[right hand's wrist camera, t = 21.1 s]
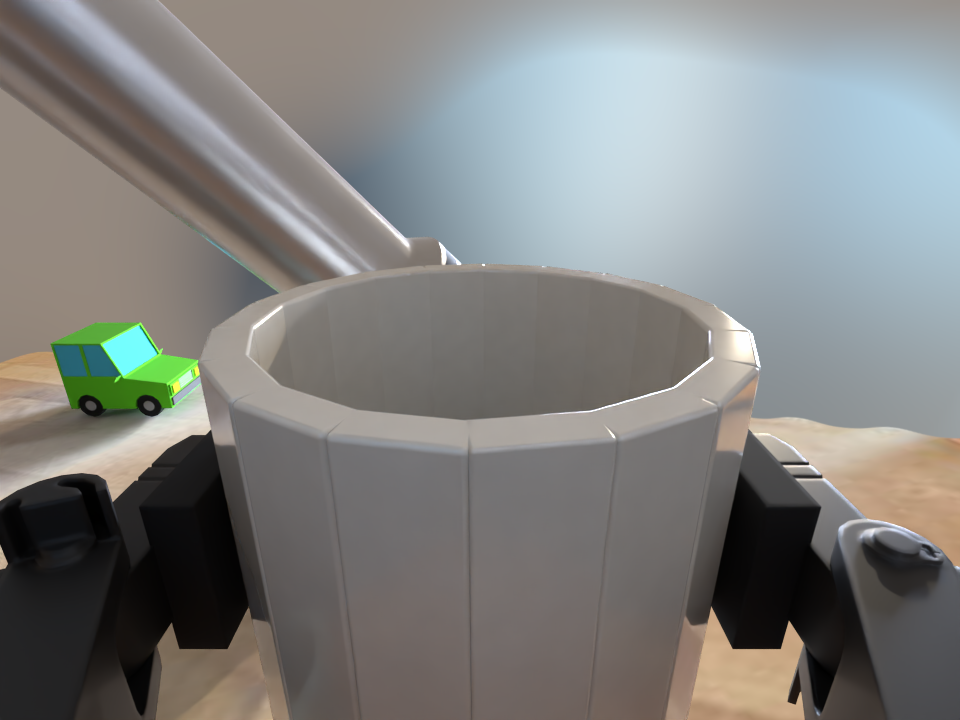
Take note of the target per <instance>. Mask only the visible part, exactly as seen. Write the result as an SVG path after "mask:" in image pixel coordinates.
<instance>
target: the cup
mask: <svg viewBox="0 0 960 720" xmlns="http://www.w3.org/2000/svg"><path fill="white" fill-rule="evenodd" d="M197 365H198V370H199V375H200V379H201V384H202V389H203V393H204V398H205V403H206V407H207V412H208V417H209V421H210V426H211V431H212V435H213V440H214V445H215V449H216V454H217V459H218V463H219V468H220V473H221V478H222V482H223V487H224V492H225V496H226V501H227V506H228V510H229V515H230V520H231V524H232V529H233V534H234V538H235V543H236V548H237V552H238V557H239V562H240V566H241V571H242V576H243V580H244V585H245V590H246V594H247V599H248V604H249V608H250V613H251V618H252V622H253V627H254V632H255V636H256V641H257V646H258V651H259V655H260V660H261V665H262V669H263V674H264V679H265V683H266V688H267V693H268V697H269V702H270V707H271V711H272V716H273V720H687V719H688V714H689V709H690V704H691V700H692V695H693V690H694V685H695V681H696V676H697V671H698V666H699V662H700V657H701V652H702V647H703V643H704V638H705V633H706V628H707V624H708V619H709V614H710V609H711V604H712V600H713V595H714V590H715V585H716V581H717V576H718V571H719V566H720V562H721V557H722V552H723V547H724V543H725V538H726V533H727V528H728V523H729V519H730V514H731V509H732V504H733V500H734V495H735V490H736V485H737V481H738V476H739V471H740V466H741V462H742V457H743V452H744V447H745V442H746V438H747V433H748V428H749V423H750V419H751V414H752V409H753V404H754V400H755V395H756V390H757V385H758V381H759V376H760V371H761V369H760V364H759V360H758V356H757V352H756V348H755V344H754V339H753V335H752V334H750V331H749V330H747V329H746V328H745V327H743V326H742V325H740V324H739V323H738V322H736V321H735V320H734V319H732V318H731V317H730V316H728V315H727V314H725V313H724V312H723V311H721V310H720V309H719V308H717V307H715V306H714V305H713V304H711V303H708V302H705V301H703V300H700V299H697V298H694V297H692V296H689V295H686V294H684V293H681V292H678V291H676V290H673V289H670V288H668V287H665V286H661V285H657V284H653V283H648V282H644V281H639V280H634V279H630V278H625V277H621V276H616V275H612V274H603V273H598V272H590V271H581V270H573V269H564V268H556V267H543V266H528V265H503V264H485V265H484V264H459V265H428V266H424V267H423V266H415V267H406V268H396V269H387V270H378V271H369V272H364V273H358V274H353V275H348V276H343V277H338V278H333V279H329V280H324V281H319V282H314V283H309V284H307V285H302V286H299V287H296V288H293V289H290V290H288V291H285V292H282V293H279V294H276V295H273V296H271V297H268V298H265V299H262V300H259V301H256V302H254V303H252V304H250V305H248V306H247V307H245V308H243V309H242V310H240V311H239V312H237V313H236V314H234V315H233V316H231V317H230V318H228V319H227V320H225V321H224V322H222V323H221V324H219V325H218V326H216V327H215V328H214V329H212V330H210V333H209V335H208V338H207V340H206V343H205V345H204V348H203V350H202V353H201V355H200V358H199V360H198V363H197Z"/></svg>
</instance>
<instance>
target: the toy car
mask: <svg viewBox="0 0 960 720" xmlns="http://www.w3.org/2000/svg"><path fill="white" fill-rule="evenodd" d="M51 347H52V350H53V353H54V356H55V359H56V362H57V365H58V368H59V371H60V374H61V377H62V380H63V384H64V387H65V390H66V393H67V396H68V399H69V402H70V405H71V408H72V409H79V408H81V409H82V411H83V412H85V413H86V414H87V415H91V416H97V415H100V414H102V413H103V412H105V411H106V409H137V408H139V410H140V411H141V412H142V413H144V414H145V415H148V416H156V415H158V414H159V413H160V412H162V411H163V409H164V408H173V407H174V406H175V405H176V404H178V403H179V402H180V401H181V400H182V399H184V398H185V397H186V396H187V395H188V394H189V393H191V392H192V391H193V390H194V389H195V388H197V387H198V386H199V385H200V384H201V379H200V375H199V370H198V365H197V363H198V360H193V359H187V358H181V357H174V356H168V355H161V352H162V349H161V350H158V349H157V347H156V346H155V344H154V343H153V341H152V340H151V338H150V336H149V335H148V333H147V332H146V330H145V329H144V327H143V326H142V324H141V323H94V324H92V325H90V326H88V327H86V328H84V329H81V330H79V331H77V332H75V333H73V334H70V335H68V336H66V337H64V338H62V339H60V340H57V341H55V342H53V343H51Z"/></svg>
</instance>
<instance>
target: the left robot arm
mask: <svg viewBox="0 0 960 720" xmlns="http://www.w3.org/2000/svg"><path fill="white" fill-rule="evenodd" d="M0 88H1V89H3V90H4V91H5V92H7V93H8V94H9V95H11V96H12V97H13V98H15V99H16V100H17V101H19V102H20V103H22V104H23V105H24V106H26V107H27V108H28V109H30V110H31V111H32V112H34V113H35V114H37V115H38V116H39V117H41V118H42V119H43V120H45V121H46V122H47V123H49V124H50V125H52V126H53V127H54V128H56V129H57V130H58V131H60V132H61V133H62V134H64V135H65V136H66V137H68V138H69V139H71V140H72V141H73V142H75V143H76V144H77V145H79V146H80V147H82V148H83V149H84V150H86V151H87V152H88V153H90V154H91V155H92V156H94V157H95V158H96V159H98V160H99V161H101V162H102V163H103V164H105V165H106V166H107V167H109V168H110V169H111V170H113V171H114V172H116V173H117V174H118V175H120V176H121V177H122V178H124V179H125V180H126V181H128V182H129V183H130V184H132V185H133V186H135V187H136V188H137V189H139V190H140V191H141V192H143V193H144V194H145V195H147V196H148V197H149V198H151V199H152V200H154V201H155V202H156V203H158V204H159V205H160V206H162V207H163V208H164V209H166V210H167V211H169V212H170V213H171V214H173V215H174V216H175V217H177V218H178V219H179V220H181V221H182V222H184V223H185V224H186V225H188V226H189V227H190V228H192V229H193V230H194V231H196V232H197V233H199V234H200V235H201V236H203V237H204V238H205V239H207V240H208V241H209V242H211V243H212V244H213V245H215V246H216V247H218V248H219V249H220V250H222V251H223V252H224V253H226V254H227V255H228V256H230V257H231V258H233V259H234V260H235V261H237V262H238V263H239V264H241V265H242V266H244V267H245V268H246V269H247V270H249V271H250V272H252V273H253V274H254V275H256V276H257V277H258V278H260V279H261V280H262V281H264V282H265V283H267V284H268V285H269V286H271V287H272V288H273V289H275V290H276V291H278V292H279V293H282V292H285V291H288V290H290V289H293V288H296V287H299V286H302V285H307V284H309V283H314V282H319V281H324V280H329V279H333V278H338V277H343V276H348V275H353V274H358V273H364V272H369V271H378V270H387V269H396V268H406V267H415V266H423V267H424V266H428V265H459V264H461V263H460V262H459V261H458V260H457V259H456V258H455V257H454V256H453V255H452V254H451V253H450V252H449V251H448V250H446V248H444V246H443V245H442V244H441V243H439V242H438V241H437V240H436V239H434V238H431V237H418V238H405V237H404V236H403V235H402V234H401V233H400V232H398V231H397V230H396V229H395V228H394V227H393V226H392V225H391V224H390V223H389V222H388V221H387V220H386V219H385V218H384V217H383V216H382V215H381V214H380V213H379V212H378V211H377V210H376V209H375V208H374V207H373V206H371V205H370V204H369V203H368V202H367V201H366V200H365V199H364V198H363V197H362V196H361V195H360V194H359V193H358V192H357V191H356V190H355V189H354V188H353V187H352V186H351V185H350V184H349V183H348V182H347V181H345V180H344V179H343V178H342V177H341V176H340V175H339V174H338V173H337V172H336V171H335V170H334V169H333V168H332V167H331V166H330V165H329V164H328V163H327V162H326V161H325V160H324V159H323V158H322V157H320V155H318V154H317V153H316V152H315V151H314V150H313V149H312V148H311V147H310V146H309V145H308V144H307V143H306V142H305V141H304V140H303V139H302V138H301V137H300V136H299V135H298V134H297V133H296V132H295V131H294V130H292V129H291V128H290V127H289V126H288V125H287V124H286V123H285V122H284V121H283V120H282V119H281V118H280V117H279V116H278V115H277V114H276V113H275V112H274V111H273V110H272V109H271V108H270V107H269V106H268V105H267V104H265V103H264V102H263V101H262V100H261V99H260V98H259V97H258V96H257V95H256V94H255V93H254V92H253V91H252V90H251V89H250V88H249V87H248V86H247V85H246V84H245V83H244V82H243V81H242V80H241V79H239V78H238V77H237V76H236V75H235V74H234V73H233V72H232V71H231V70H230V69H229V68H228V67H227V66H226V65H225V64H224V63H223V62H222V61H221V60H220V59H219V58H218V57H217V56H216V55H215V54H213V53H212V52H211V51H210V50H209V49H208V48H207V47H206V46H205V45H204V44H203V43H202V42H201V41H200V40H199V39H198V38H197V37H196V36H195V35H194V34H193V33H192V32H191V31H190V30H189V29H188V28H187V27H185V26H184V25H183V24H182V23H181V22H180V21H179V20H178V19H177V18H176V17H175V16H174V15H173V14H172V13H171V12H170V11H169V10H168V9H167V8H166V7H165V6H164V5H163V4H161V2H159V1H158V0H0Z"/></svg>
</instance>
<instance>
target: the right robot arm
mask: <svg viewBox="0 0 960 720" xmlns="http://www.w3.org/2000/svg"><path fill="white" fill-rule="evenodd" d="M0 545H1V548H2V550H3V553H4V555H5V557H6V560H7V562H8V565H7V567H6V569H1V570H0V720H155V718H156V710H157V702H158V694H159V686H160V678H161V670H162V666H161V659H160V655H159V651H158V648H157V644H158V642H159V641H160V639H161V638H162V636H163V635H164V633H165V632H166V630H167V629H168V627H169V625H170V624H171V622H172V625H173V628H174V632H175V635H176V639H177V642H178V645H179V649H228V647H229V645H230V643H231V641H232V639H233V637H234V635H235V633H236V631H237V629H238V627H239V625H240V623H241V621H242V619H243V617H244V615H245V613H246V611H247V609H248V607H249V604H248V599H247V594H246V590H245V585H244V580H243V576H242V571H241V566H240V562H239V557H238V552H237V548H236V543H235V538H234V534H233V529H232V524H231V520H230V515H229V510H228V506H227V501H226V496H225V492H224V487H223V482H222V478H221V473H220V468H219V463H218V459H217V454H216V449H215V445H214V440H213V435H212V431H211V430H210V431H209V432H208V433H207V434H206V435H191V436H189V437H188V438H186V439H184V440H182V441H180V442H179V443H177V444H175V445H173V446H172V447H170V448H168V449H167V450H166V451H165V452H164V453H163V454H162V455H161V456H160V457H159V458H158V459H157V460H156V461H155V462H154V463H153V464H152V467H148V468H147V469H146V470H145V471H144V472H143V473H142V474H141V475H140V476H139V477H138V481H134V482H133V483H132V484H131V485H130V486H129V487H128V488H127V489H126V490H125V491H124V492H123V493H122V494H121V495H120V496H119V497H118V498H117V499H116V500H115V501H114V502H112V499H111V496H110V492H109V489H108V486H107V483H106V480H104V479H103V478H101V477H99V476H98V475H93V474H84V473H79V474H70V475H61V476H58V477H54V478H50V479H46V480H42V481H39V482H37V483H34V484H32V485H29V486H27V487H25V488H22V489H20V490H17V491H16V492H14V493H13V494H11V495H9V496H8V497H6V498H4V499H3V500H1V501H0ZM711 606H712V608H713V610H714V612H715V614H716V616H717V618H718V620H719V622H720V624H721V626H722V628H723V630H724V632H725V634H726V636H727V638H728V640H729V642H730V644H731V646H732V648H733V649H781V646H782V643H783V639H784V636H785V632H786V629H787V625H788V622H789V621H790V622H791V624H792V625H793V627H794V629H795V630H796V632H797V633H798V635H799V636H800V638H801V639H802V641H803V642H804V645H803V648H802V651H801V655H800V658H799V661H798V664H797V667H796V671H795V674H794V677H793V680H792V684H791V687H790V690H789V696H788V702H789V703H792V704H795V705H796V702H797V699H798V696H799V693H800V692H802V700H803V708H804V716H805V720H960V567H957V566H953V564H952V562H951V561H950V560H949V559H948V557H947V556H946V555H945V554H944V553H943V551H942V550H941V549H939V548H938V547H937V546H935V545H934V544H932V543H931V542H930V541H928V540H927V539H925V538H924V537H922V536H920V535H918V534H916V533H914V532H912V531H909V530H907V529H905V528H903V527H900V526H897V525H893V524H890V523H887V522H883V521H877V520H869V519H867V518H866V517H865V516H864V515H863V514H862V513H861V512H860V511H859V510H857V509H856V508H855V507H854V506H853V505H852V504H851V503H850V502H849V501H848V500H847V499H846V498H845V497H844V496H843V495H842V494H841V493H840V492H839V491H838V490H837V489H836V488H835V487H834V486H833V485H832V484H831V483H830V482H829V481H828V480H827V479H823V478H822V475H821V474H820V473H819V472H818V471H817V470H816V469H815V468H814V467H813V466H812V465H809V462H808V461H807V460H806V459H805V458H804V457H803V456H802V455H801V454H800V453H799V452H798V451H797V450H796V449H795V448H794V447H792V446H791V445H789V444H787V443H785V442H783V441H782V440H780V439H778V438H776V437H774V436H773V435H771V434H769V433H752V432H751V431H750V430H749V429H748V433H747V438H746V442H745V447H744V452H743V457H742V462H741V466H740V471H739V476H738V481H737V485H736V490H735V495H734V500H733V504H732V509H731V514H730V519H729V523H728V528H727V533H726V538H725V543H724V547H723V552H722V557H721V562H720V566H719V571H718V576H717V581H716V585H715V590H714V595H713V600H712V604H711Z"/></svg>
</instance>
